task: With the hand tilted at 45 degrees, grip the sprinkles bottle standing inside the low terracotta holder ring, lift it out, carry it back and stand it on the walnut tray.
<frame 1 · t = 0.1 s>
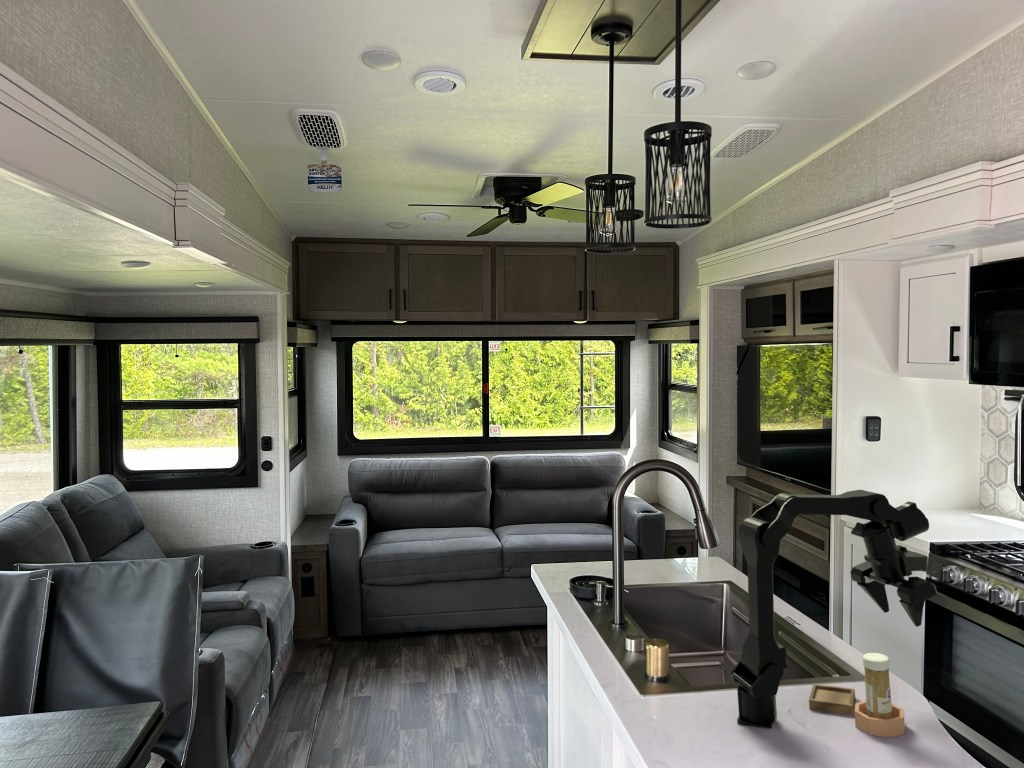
hand: (902, 618, 156), 15 cm above the counter, tool pointing down, fingers open, 9 cm apart
holder ring: (880, 725, 143), on the counter
walnut tray: (832, 703, 154), on the counter
sprinkles bottle: (880, 726, 143), resting in holder ring
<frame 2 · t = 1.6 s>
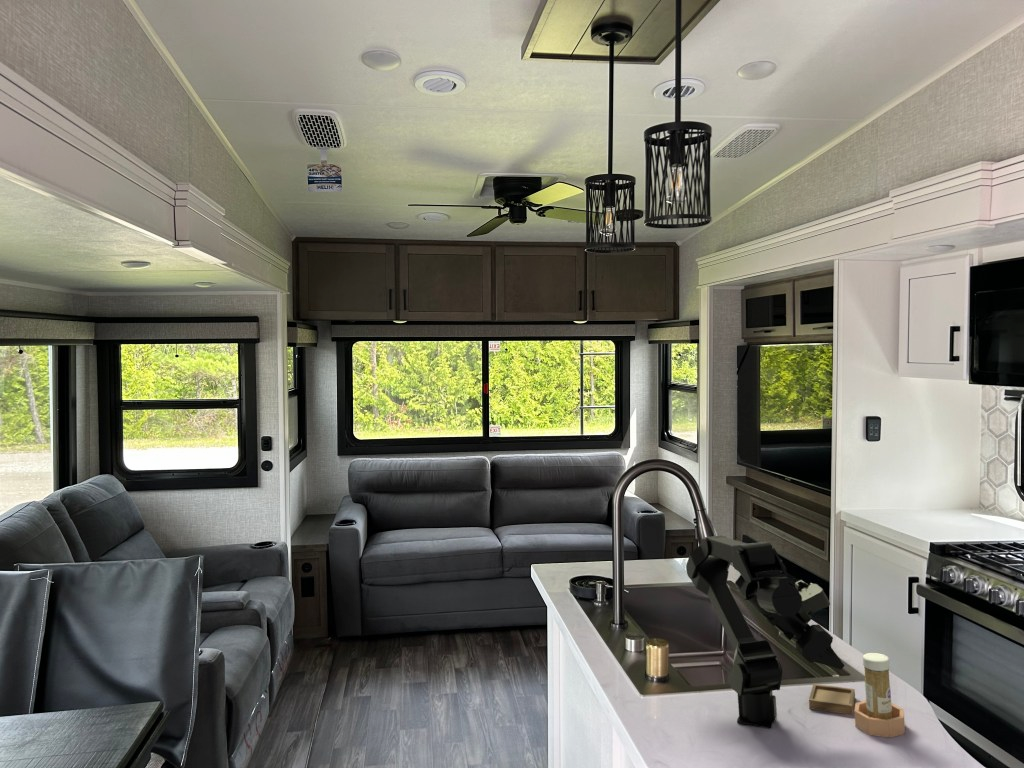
hand: (832, 657, 143), 14 cm above the counter, tool tilted 45°, fingers open, 9 cm apart
nothing on the counter moved.
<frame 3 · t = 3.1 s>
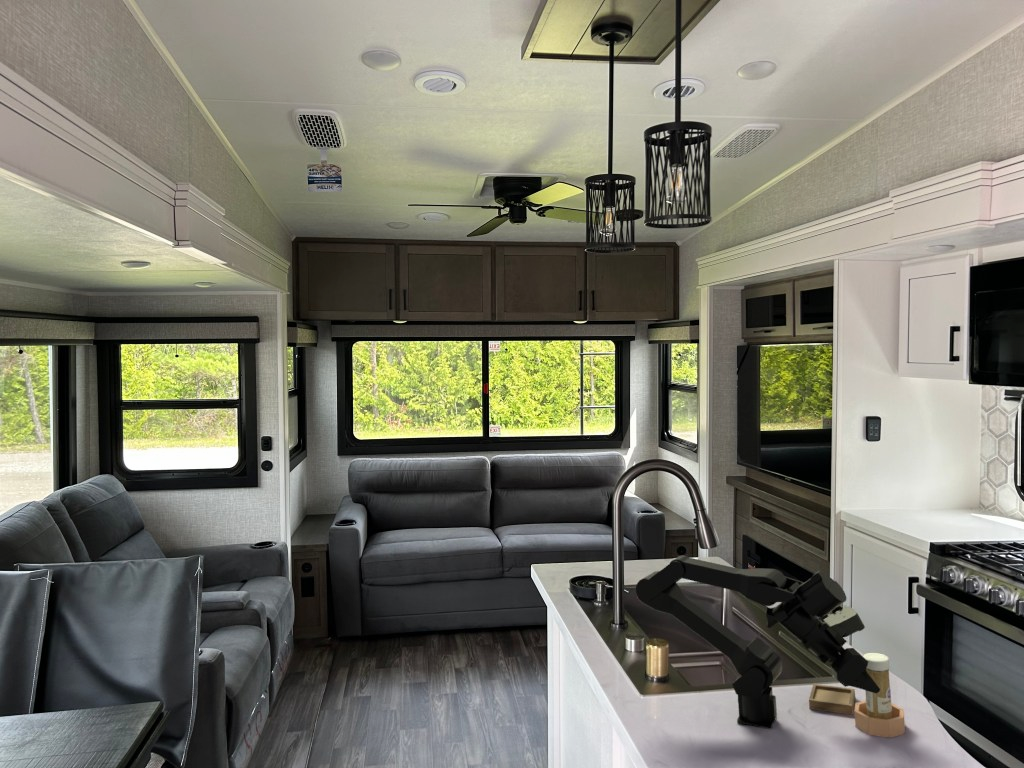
hand: (868, 680, 143), 9 cm above the counter, tool tilted 45°, fingers open, 9 cm apart
nothing on the counter moved.
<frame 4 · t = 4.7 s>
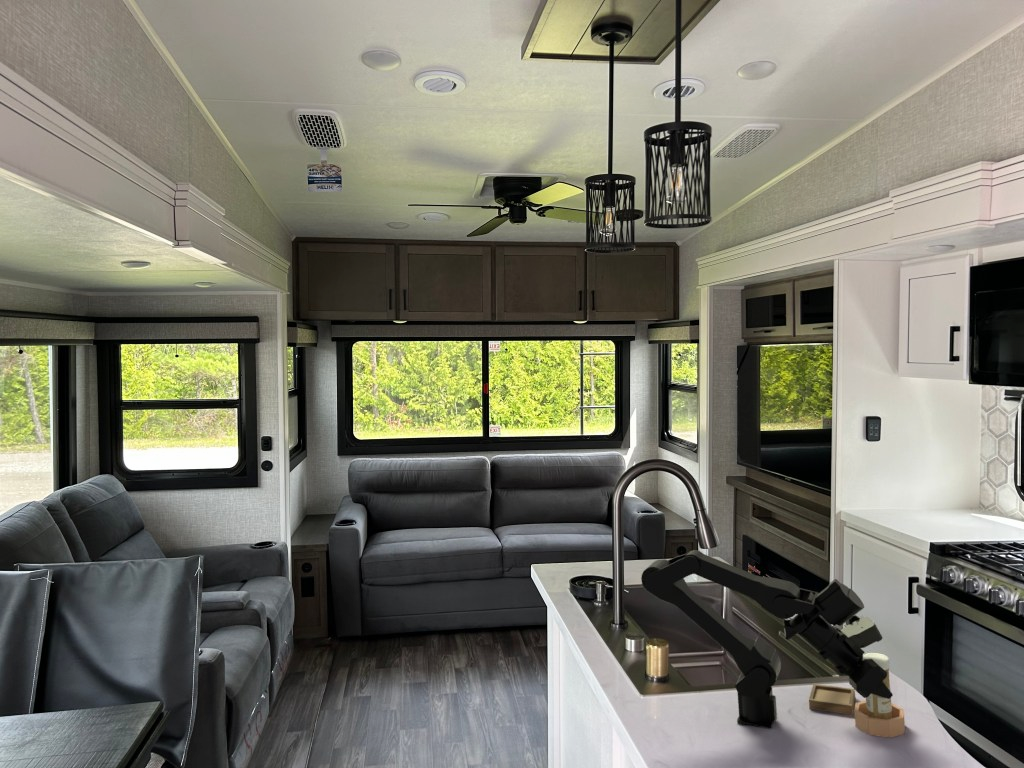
hand: (885, 691, 143), 7 cm above the counter, tool tilted 45°, fingers closed on sprinkles bottle, 4 cm apart
sprinkles bottle: (880, 726, 143), resting in holder ring, touching gripper
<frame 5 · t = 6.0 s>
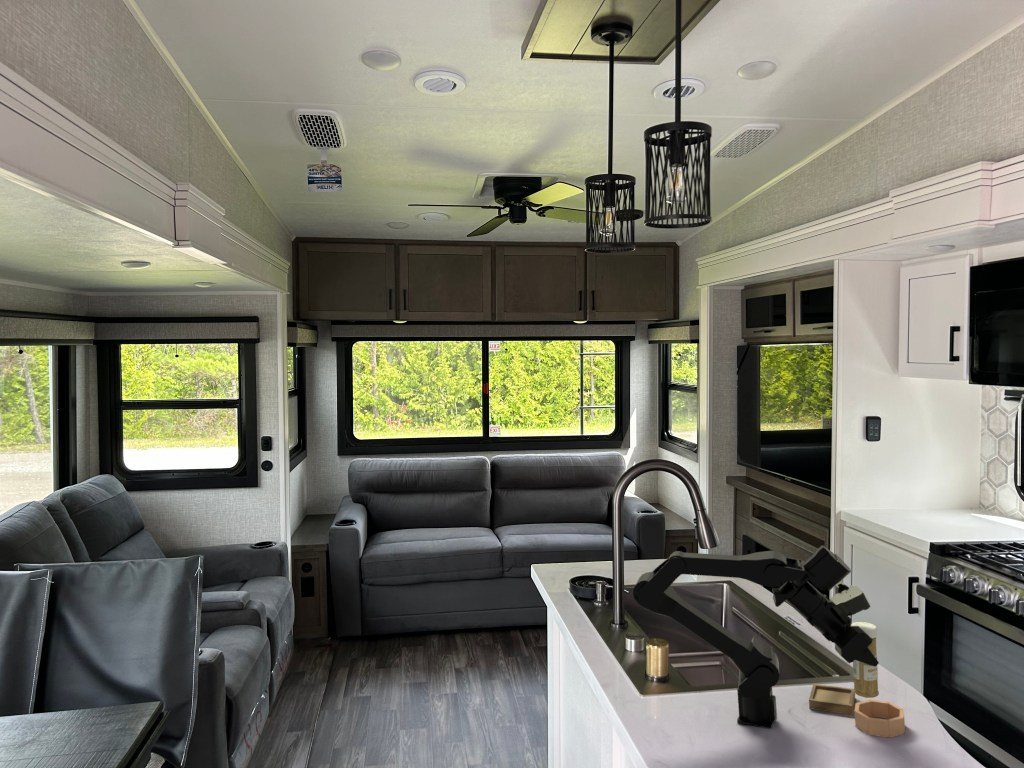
hand: (872, 659, 145), 12 cm above the counter, tool tilted 45°, fingers closed on sprinkles bottle, 4 cm apart
sprinkles bottle: (866, 694, 145), point 5 cm above the counter, touching gripper
when the fingers open (9 cm above the counter, at t = 7.4 s): sprinkles bottle drops 1 cm, resting on walnut tray.
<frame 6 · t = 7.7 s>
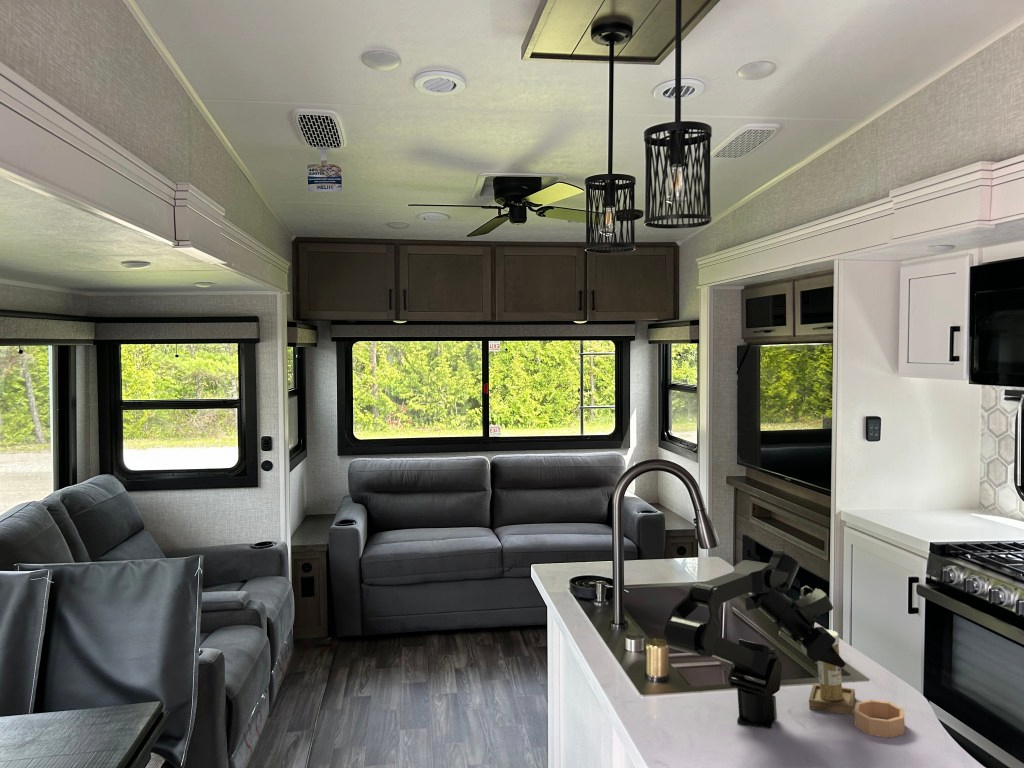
hand: (836, 658, 153), 9 cm above the counter, tool tilted 45°, fingers open, 7 cm apart
sprinkles bottle: (831, 698, 153), point 1 cm above the counter, touching walnut tray
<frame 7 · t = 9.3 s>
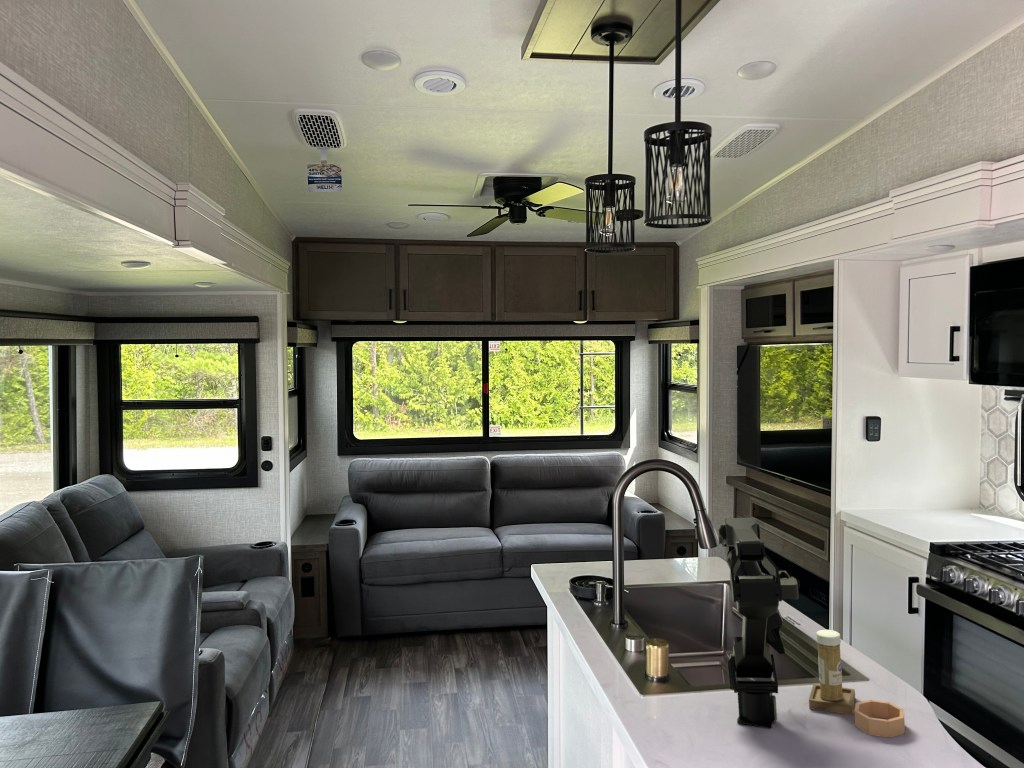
hand: (780, 644, 156), 12 cm above the counter, tool tilted 20°, fingers open, 9 cm apart
nothing on the counter moved.
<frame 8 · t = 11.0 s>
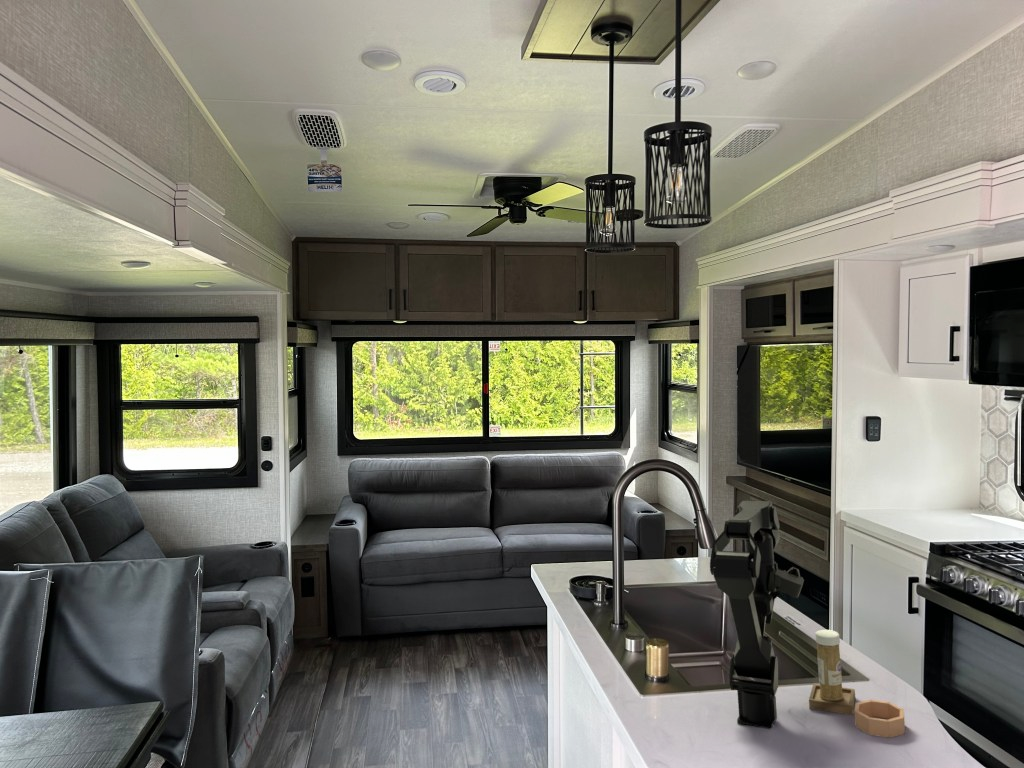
hand: (764, 630, 161), 13 cm above the counter, tool pointing down, fingers open, 9 cm apart
nothing on the counter moved.
at the end: sprinkles bottle inside the target area on the walnut tray (0.2 cm from its centre), point 1.0 cm above the walnut tray's base; sprinkles bottle tilted 0°; the gripper is holding nothing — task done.
